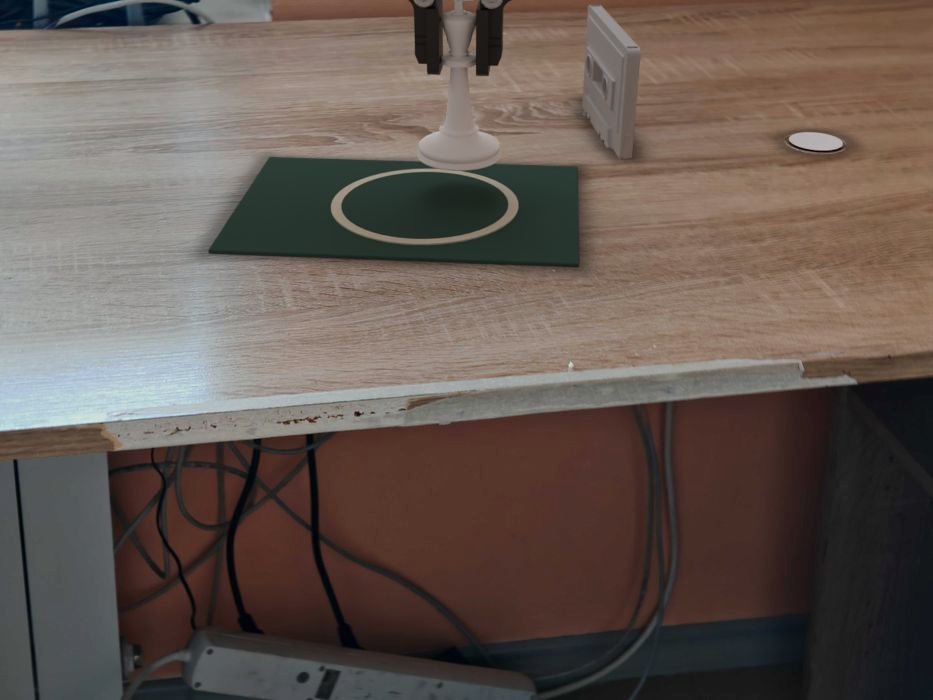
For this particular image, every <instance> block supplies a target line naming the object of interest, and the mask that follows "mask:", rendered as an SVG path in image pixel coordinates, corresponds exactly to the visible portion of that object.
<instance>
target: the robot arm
mask: <svg viewBox="0 0 933 700" xmlns="http://www.w3.org/2000/svg"><path fill="white" fill-rule="evenodd" d="M408 2H409V3H410V4H411V6H412V8H413V9H412V10H413V27H414V28H413V29H414V33H413V34H414V35H413V36H414V57H415V58H416V61H417V64H418V65H426V74H427V75H429V76H431V75H432V76H433V75H434V76H440V75H441V73H442V71H443V66H444V65H442V64H441V57H442V56H443V55H444V29H443V26H442V23H441V16H442V15H443V14H444V13H443V12H444V11H443V9H444V5H443V4H444V3H443V2H444V0H408ZM509 2H512V0H478V3H477V6H476V9H475V15H476V27H475V55H476V65H475V76H476V77H489V76H490V72H491V67H498V66H499V64H500V61H501V59H502V58H503V57H502V56H503V50H504V8H505V6H506V5H507V4H508V3H509Z"/></svg>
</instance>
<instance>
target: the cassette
mask: <svg viewBox="0 0 933 700" xmlns="http://www.w3.org/2000/svg"><path fill="white" fill-rule="evenodd" d="M641 54H642V52H641V48H640V46H638V44H637V43H636V42H635V41H634V40H633V39H632V38H631V36H629V34H628V33H627V32H626V31H625V30H624V29H623V28H622V27H621V26H620V25H619V23H618V22H617V21H616V20H615V19H614V18H613V17H612V15H611V14H609V12H608V11H607V10H606V9H605V8H604V7H603V5H602V4H589V5H587V20H586V36H585V53H584V67H583V68H584V69H583V86H582V87H583V88H582V101H581V102H582V103H581V107H582V111H583V112H582V117H587V119H588V120H589V122H590V124H591V125H592V127H593V128H594V129H595V131H596V133H597V135H598V136H600V137H599V138H600V139H601V141H602V142H603V144H604V146H605V147H606V148H607V149H612V150H613V151H614V153H615V155H616V156H617V158H618V159H620V160H621V159H622V160H628V159H632V158H633V150H634V149H633V147H634V138H635V136H634V135H635V124H636V113H637V102H638V101H637V100H638V92H639V91H638V90H639V80H640V79H639V77H640V65H641Z"/></svg>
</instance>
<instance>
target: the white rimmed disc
mask: <svg viewBox="0 0 933 700" xmlns="http://www.w3.org/2000/svg"><path fill="white" fill-rule="evenodd" d="M787 138H788V141H789V142H790V143H791V144H792V145H794V146H796V147H799V148H802V149H799V148H796V147H794V146H792V145H790V144H788V143H787V141H786V139H787ZM784 143H785V145H786V146H787V147H788V148H790V149H792V150H794V151H798V152H801V153H805V154H811V155H824V156H825V155H835V154H840V153H842V152H844V151H845V150H846V149H847V147H845V148H842V147H843V145H845V146H847V143H846V141H845V140H843V139H842V138H840V137H838V136H836V135H833V134H829V133H824V132H818V131H817V132H816V131H800V132H794V133H790V134H788V135H787V136H786V137H785V139H784ZM839 148H842V149H841V150H838V149H839ZM803 149H807V150H803ZM808 150H813V151H808ZM833 150H834V151H833ZM835 150H838V151H835ZM816 151H831V152H816Z"/></svg>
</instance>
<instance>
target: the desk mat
mask: <svg viewBox="0 0 933 700" xmlns="http://www.w3.org/2000/svg"><path fill="white" fill-rule="evenodd" d="M579 213H580V211H579V168H578V166H575V165H548V164H547V165H544V164H543V165H542V164H513V163H511V164H509V163H495V164H493V165H491V166H488V167H485V168H481V169H476V170H467V171H451V170H443V169H437V168H433V167H430V166H428V165H426V164H424V163H422V162H421V161H419V160H417V161H416V160H412V161H411V160H385V159H383V160H380V159H351V158H348V159H347V158H323V157H322V158H318V157H315V158H314V157H289V156H288V157H285V156H269V157H268V158H267V160H266V162H265V163H264V164H263V166H262V167H261V169H260V170H259V172H258V174H257V175H256V177H255V179H254V180H253V181H252V183H251V184H250V186H249V188H248V189H247V190H246V192H245V193H244V195H243V197H242V198H241V200H240V201H239V202H238V204H237V206H235V209H234V210H233V212H232V213H231V215H230V217H229V218H228V219H227V220H226V222H225V224H224V226H223V227H222V228H221V230H220V232H219V233H218V234H217V236H216V238H215V239H214V240H213V243H212V244H211V245H210V247H209V248H208V251H207V252H208V254H210V255H234V256H236V255H237V256H261V257H262V256H264V257H289V258H290V257H291V258H316V259H318V258H319V259H320V258H321V259H340V260H341V259H344V260H366V261H367V260H368V261H369V260H370V261H371V260H372V261H396V262H397V261H398V262H422V263H423V262H424V263H448V264H473V265H474V264H475V265H476V264H478V265H501V266H502V265H503V266H504V265H505V266H530V267H531V266H532V267H554V268H555V267H556V268H557V267H558V268H580V221H579V219H580V217H579V216H580V215H579Z"/></svg>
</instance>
